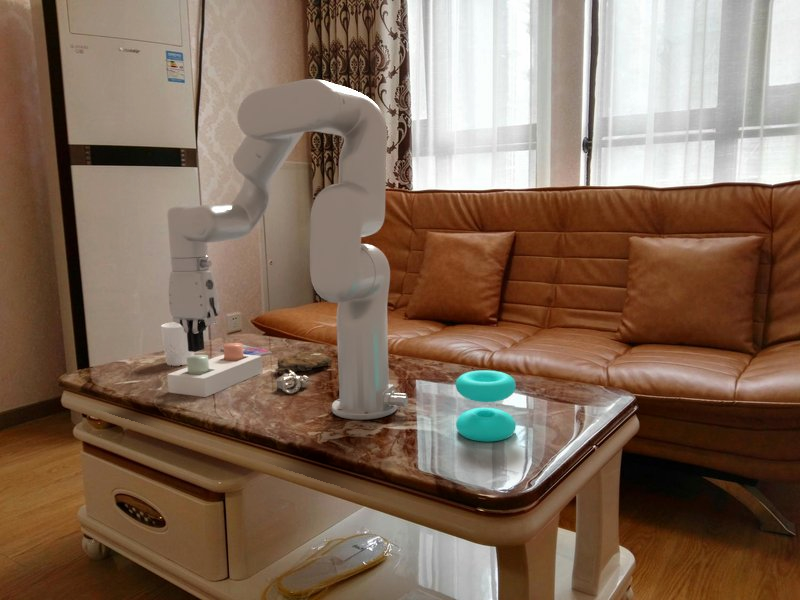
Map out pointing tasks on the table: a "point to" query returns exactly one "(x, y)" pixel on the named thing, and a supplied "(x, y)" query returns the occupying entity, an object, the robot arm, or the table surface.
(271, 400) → the table surface
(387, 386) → the robot arm
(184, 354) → the white cup
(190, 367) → the sage button
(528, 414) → the table surface
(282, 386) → the ornament
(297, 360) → the decorative rock
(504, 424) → the donuts
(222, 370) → the button box
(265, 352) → the smartphone
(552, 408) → the table surface
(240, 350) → the terracotta button
